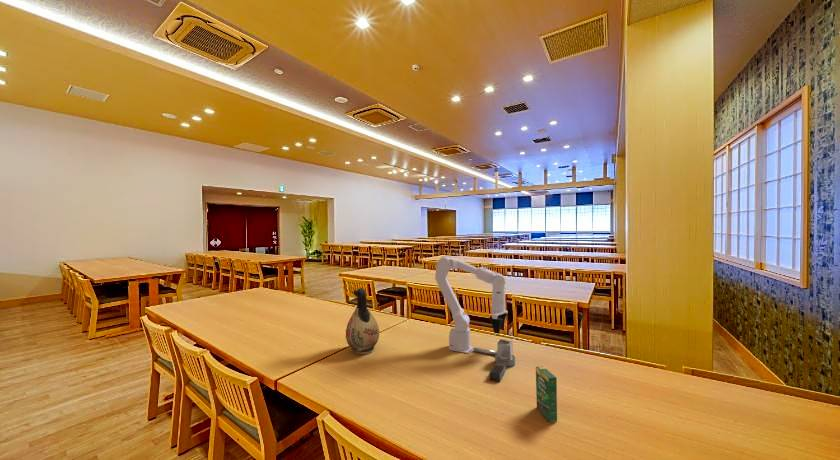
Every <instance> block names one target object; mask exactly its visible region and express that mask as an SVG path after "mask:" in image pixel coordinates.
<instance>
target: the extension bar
mask: <svg viewBox="0 0 840 460" xmlns="http://www.w3.org/2000/svg"><path fill="white" fill-rule="evenodd" d="M472 351H473V352H476V353H481V354H486V355H491V356H495V354H497V350H491V349H485V348H481V347H474V346H473V348H472Z"/></svg>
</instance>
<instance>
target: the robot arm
mask: <svg viewBox="0 0 840 460" xmlns="http://www.w3.org/2000/svg"><path fill="white" fill-rule="evenodd" d="M457 269H460V270H461V271H465V272H467V273H470V274H472V275H475V278H476V279H477V280H480V281H483V282H484V283H487V284H490V285H492V290H491V315H490V316H489V319H488V320H489V321H490V324H491V326H492V329H493V333H494V334H498V335H499V334H500V332H501V329H504V327H505V322H506V321H505V320H506V319H507V315H508V310H506V291H505V289H506V287H505V286H506V279H505V276H504V275H503V274H501V273H500V272H497V271H496V270H495V271H493V270H490V269H487V267H486V266H480V267H476V266H474V265H471V264H470V263H467V262H466V261H463V260H461V259H458V258H456V257H451V256H449V255H444V256H442V257H441V258H439V259H438V261H437V262H436V264H435V276H434V278H435V281H436V283H437V285H438V287H439V290H440V291H441V294H442V296H443V298H444V300H445V302H446V304H447V306H448V308H449V310H450V313H451V316H452V319H453V322H454V323H453V324H454V328H451V329H450V331H449V334H448V350H449V351H454V352H458V353H465V354H468V353H470V352H471V350H473V348H474V346H473V345H471V329H470V327H469V324H470V323H471V322H470V321H471V320H470V319H471V318H470V317H469V315H468V314H467V313H466V312H465V311H464V309H463V308H462V307H461V305H460V302H459V300H458V299H457V296H456V294H455V292H454V290H453V288H452V285H450V282H449V281H448V278H447V276H448V275H449V271H450V270H457Z"/></svg>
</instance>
